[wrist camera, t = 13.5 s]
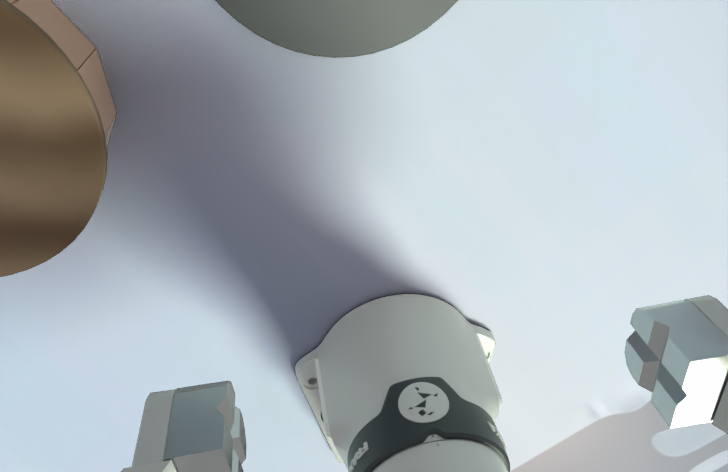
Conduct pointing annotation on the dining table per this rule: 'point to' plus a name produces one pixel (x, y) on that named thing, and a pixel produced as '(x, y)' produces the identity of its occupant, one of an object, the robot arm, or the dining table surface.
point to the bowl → (74, 53)
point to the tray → (337, 23)
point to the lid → (43, 146)
